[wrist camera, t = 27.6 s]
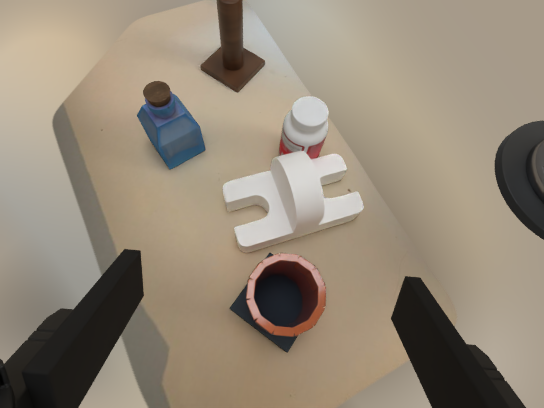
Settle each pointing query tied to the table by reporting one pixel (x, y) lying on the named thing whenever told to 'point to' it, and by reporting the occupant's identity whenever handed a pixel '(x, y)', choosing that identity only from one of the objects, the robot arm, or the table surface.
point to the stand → (232, 49)
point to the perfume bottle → (169, 125)
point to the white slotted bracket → (290, 200)
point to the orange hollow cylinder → (307, 284)
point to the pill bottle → (305, 127)
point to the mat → (273, 306)
